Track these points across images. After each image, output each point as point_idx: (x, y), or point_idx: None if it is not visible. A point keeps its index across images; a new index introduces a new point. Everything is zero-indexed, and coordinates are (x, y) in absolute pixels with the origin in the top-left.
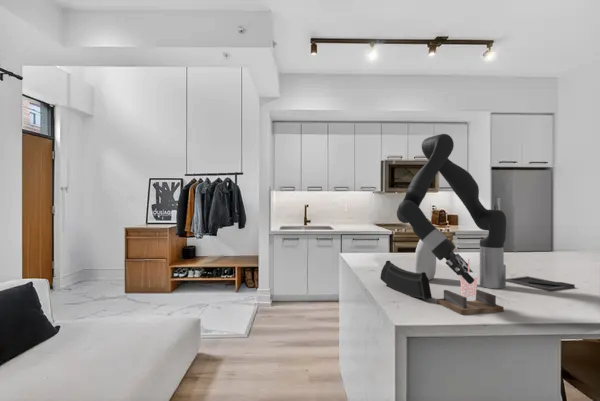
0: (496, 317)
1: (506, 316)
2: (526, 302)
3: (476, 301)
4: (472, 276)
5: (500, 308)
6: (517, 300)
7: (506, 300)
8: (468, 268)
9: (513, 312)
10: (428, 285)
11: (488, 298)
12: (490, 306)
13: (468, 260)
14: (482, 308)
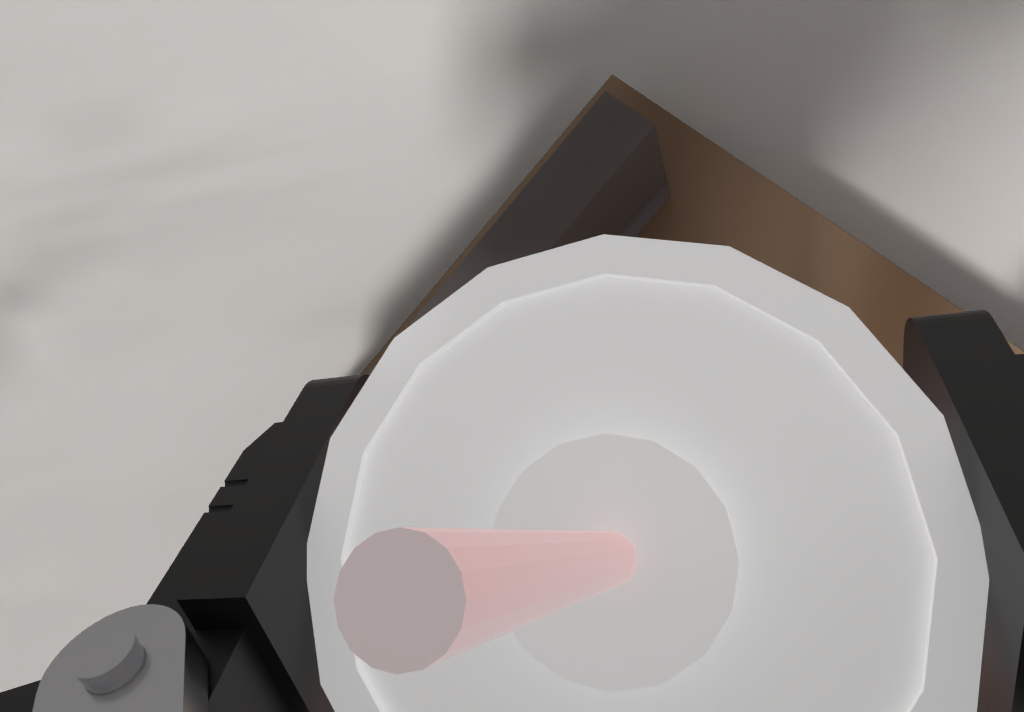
0: (992, 100)
1: (840, 21)
2: (66, 20)
3: None
4: (873, 371)
5: (652, 110)
6: (25, 111)
7: (78, 205)
8: (610, 570)
9: (584, 10)
10: None
11: (596, 231)
12: (699, 216)
13: (497, 607)
14: (910, 280)
